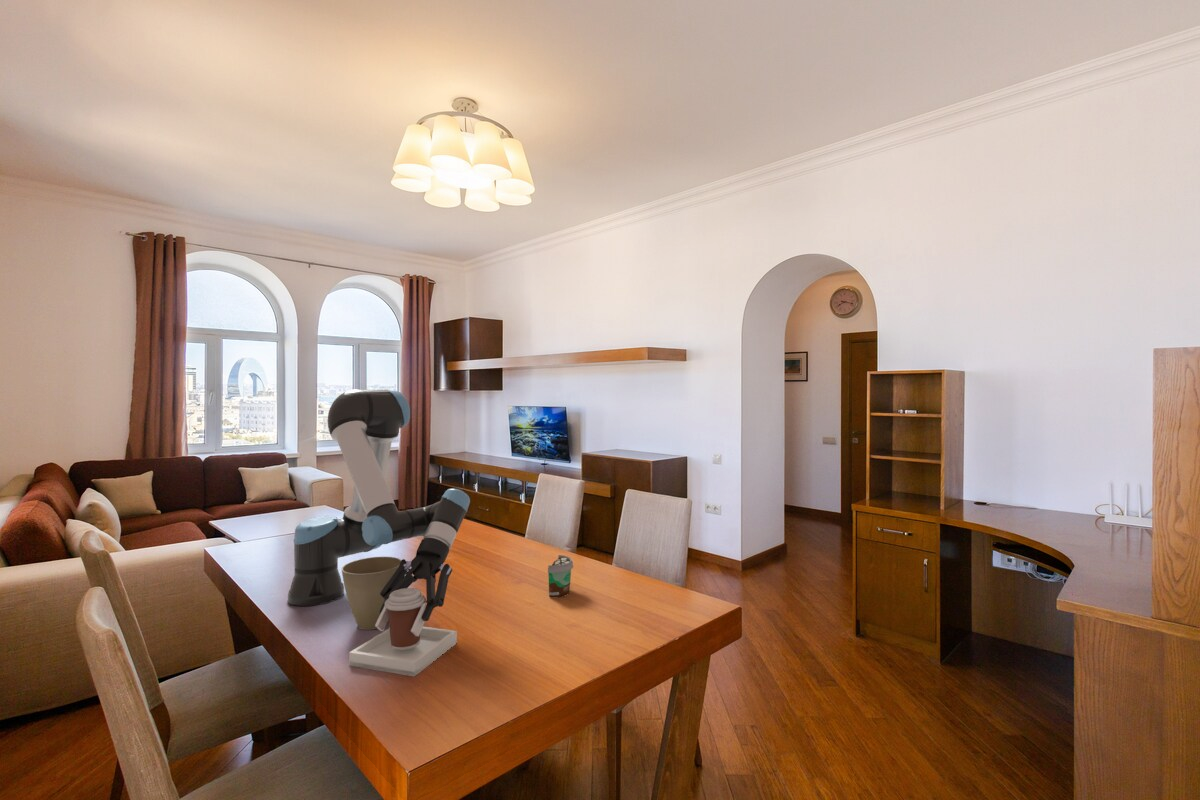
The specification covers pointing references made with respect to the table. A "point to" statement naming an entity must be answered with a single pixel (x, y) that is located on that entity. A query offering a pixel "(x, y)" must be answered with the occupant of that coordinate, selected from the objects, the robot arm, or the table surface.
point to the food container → (560, 576)
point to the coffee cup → (404, 617)
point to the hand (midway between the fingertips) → (396, 631)
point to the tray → (403, 652)
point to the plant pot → (367, 587)
